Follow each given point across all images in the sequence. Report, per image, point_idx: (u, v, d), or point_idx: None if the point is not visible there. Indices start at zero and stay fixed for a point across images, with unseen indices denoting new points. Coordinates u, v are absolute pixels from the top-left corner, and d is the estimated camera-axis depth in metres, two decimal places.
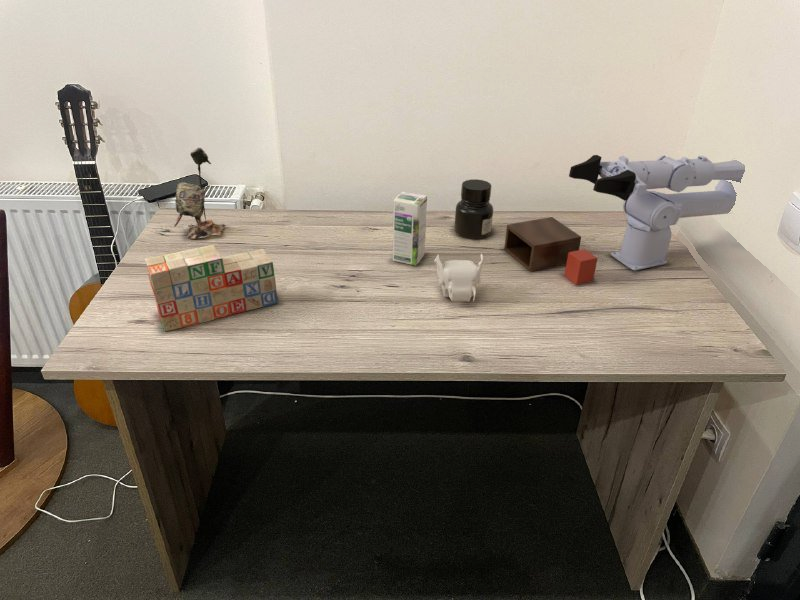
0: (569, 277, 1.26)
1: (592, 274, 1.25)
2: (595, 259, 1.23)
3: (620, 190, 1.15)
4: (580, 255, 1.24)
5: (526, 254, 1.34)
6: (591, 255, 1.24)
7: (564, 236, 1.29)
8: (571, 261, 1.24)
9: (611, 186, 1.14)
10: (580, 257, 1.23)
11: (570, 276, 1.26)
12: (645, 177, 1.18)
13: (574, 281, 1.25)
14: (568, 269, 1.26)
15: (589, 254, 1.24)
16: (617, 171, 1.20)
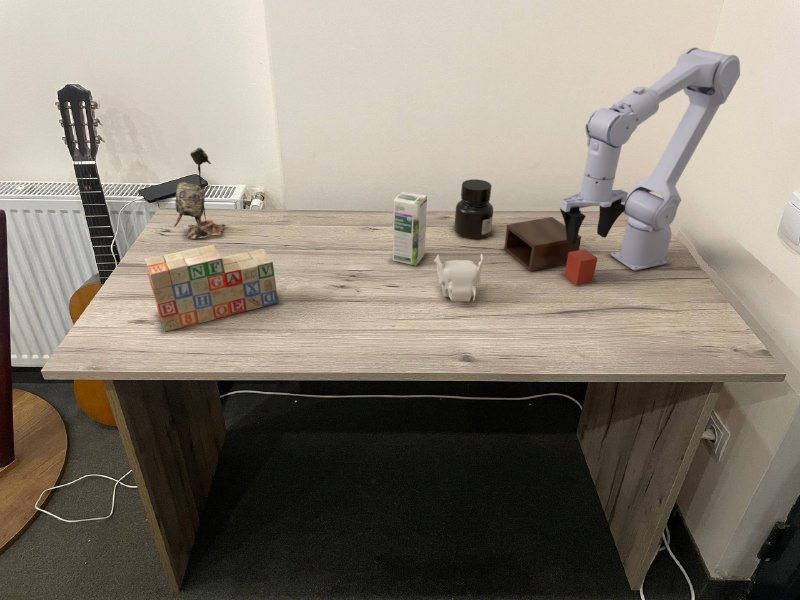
0: (569, 277, 1.26)
1: (592, 274, 1.25)
2: (595, 259, 1.23)
3: (606, 206, 1.21)
4: (580, 255, 1.24)
5: (526, 254, 1.34)
6: (591, 255, 1.24)
7: (564, 236, 1.29)
8: (571, 261, 1.24)
9: None
10: (580, 257, 1.23)
11: (570, 276, 1.26)
12: None
13: (574, 281, 1.25)
14: (568, 269, 1.26)
15: (589, 254, 1.24)
16: None
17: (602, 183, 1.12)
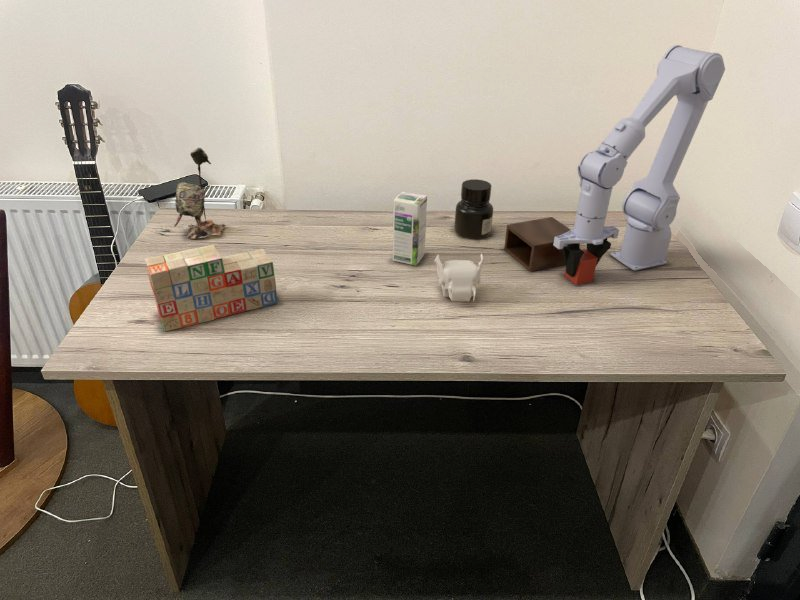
0: (569, 277, 1.26)
1: (592, 274, 1.25)
2: (595, 259, 1.23)
3: None
4: None
5: (526, 254, 1.34)
6: (591, 255, 1.24)
7: None
8: None
9: None
10: (581, 257, 1.23)
11: (570, 276, 1.26)
12: None
13: (574, 281, 1.25)
14: None
15: (589, 254, 1.24)
16: None
17: (594, 222, 1.17)
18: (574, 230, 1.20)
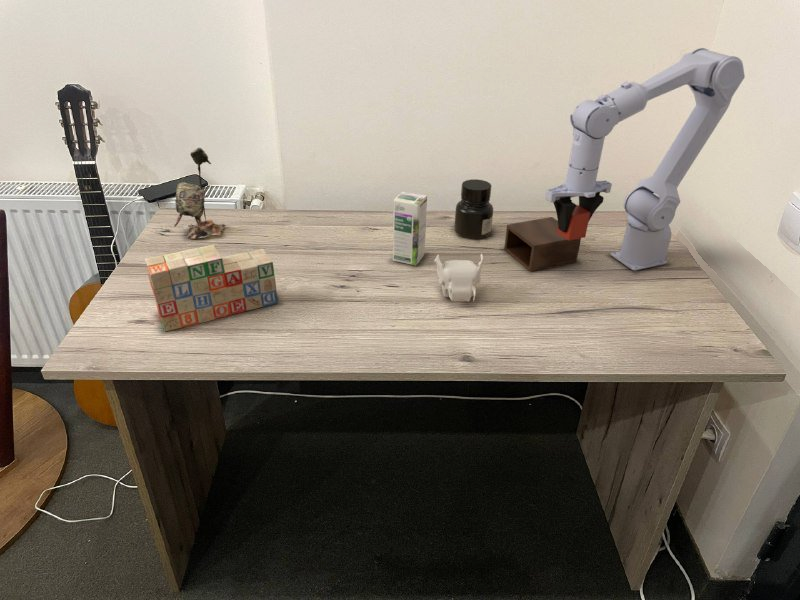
0: (562, 233, 1.24)
1: (585, 230, 1.23)
2: (588, 214, 1.21)
3: None
4: None
5: (526, 254, 1.34)
6: (584, 210, 1.22)
7: None
8: None
9: None
10: (573, 212, 1.21)
11: (562, 232, 1.24)
12: None
13: (567, 237, 1.23)
14: None
15: (582, 209, 1.22)
16: None
17: (586, 174, 1.15)
18: (566, 183, 1.19)
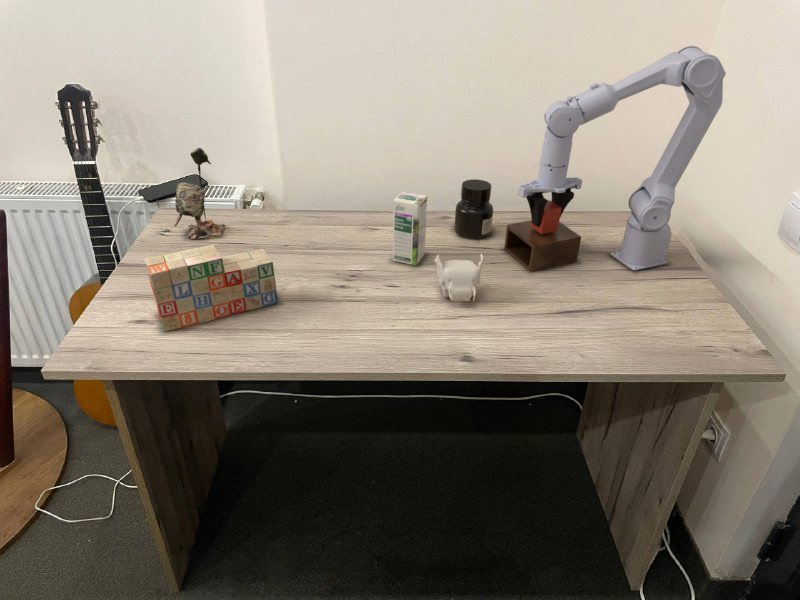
0: (535, 227, 1.31)
1: (557, 224, 1.29)
2: (559, 209, 1.27)
3: None
4: None
5: (526, 254, 1.34)
6: (555, 205, 1.28)
7: (564, 236, 1.29)
8: None
9: None
10: (545, 207, 1.27)
11: (536, 227, 1.30)
12: None
13: (539, 231, 1.29)
14: None
15: (554, 204, 1.29)
16: None
17: (556, 170, 1.21)
18: (538, 180, 1.25)
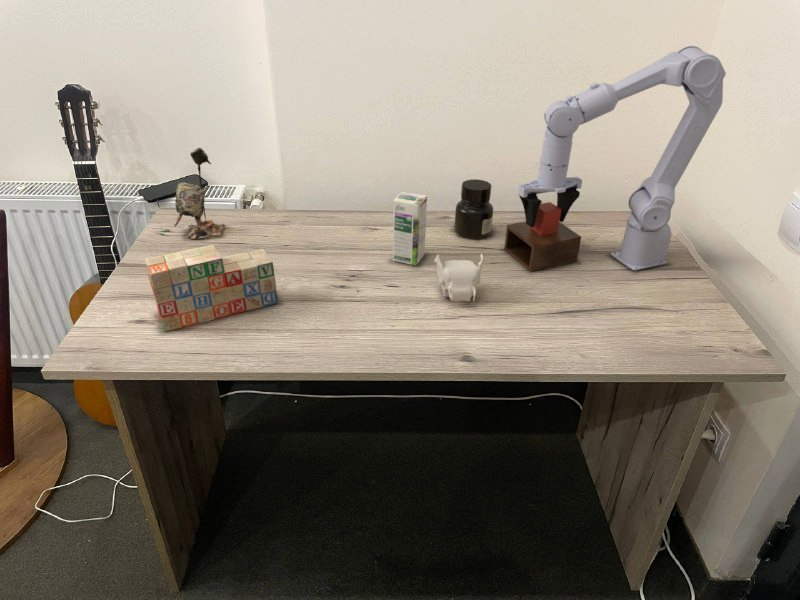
0: (535, 229, 1.31)
1: (556, 226, 1.30)
2: (559, 210, 1.28)
3: None
4: (545, 207, 1.28)
5: (526, 254, 1.34)
6: (555, 207, 1.28)
7: (564, 236, 1.29)
8: None
9: None
10: (545, 209, 1.27)
11: (535, 228, 1.31)
12: None
13: (539, 232, 1.29)
14: None
15: (553, 206, 1.29)
16: None
17: (556, 170, 1.21)
18: (538, 179, 1.25)
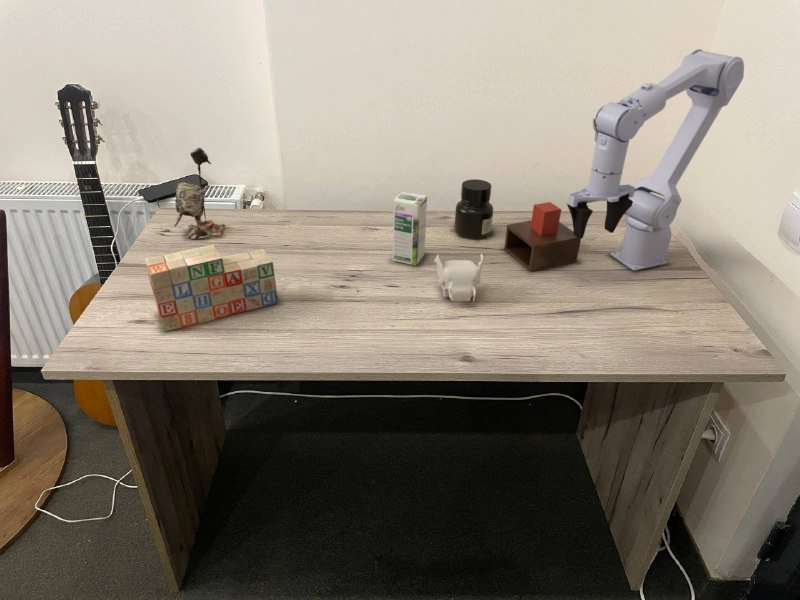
0: (535, 229, 1.31)
1: (556, 226, 1.30)
2: (559, 210, 1.28)
3: None
4: (545, 207, 1.28)
5: (526, 254, 1.34)
6: (555, 207, 1.28)
7: (564, 236, 1.29)
8: (536, 213, 1.29)
9: None
10: (545, 209, 1.27)
11: (535, 228, 1.31)
12: None
13: (539, 232, 1.29)
14: (534, 221, 1.31)
15: (553, 206, 1.29)
16: None
17: (609, 178, 1.12)
18: (588, 188, 1.16)
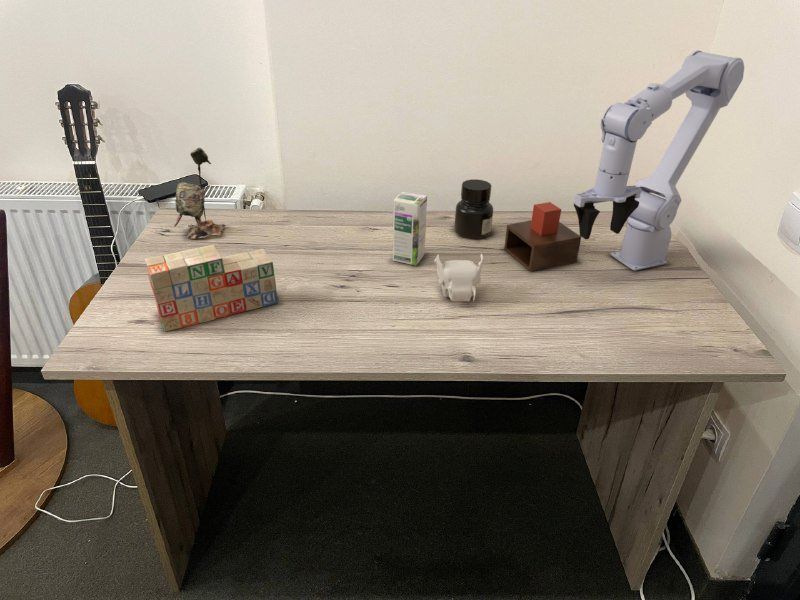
0: (535, 229, 1.31)
1: (556, 226, 1.30)
2: (559, 210, 1.28)
3: None
4: (545, 207, 1.28)
5: (526, 254, 1.34)
6: (555, 207, 1.28)
7: (564, 236, 1.29)
8: (536, 213, 1.29)
9: None
10: (545, 209, 1.27)
11: (535, 228, 1.31)
12: None
13: (539, 232, 1.29)
14: (534, 221, 1.31)
15: (553, 206, 1.29)
16: None
17: (617, 178, 1.12)
18: (595, 188, 1.16)
